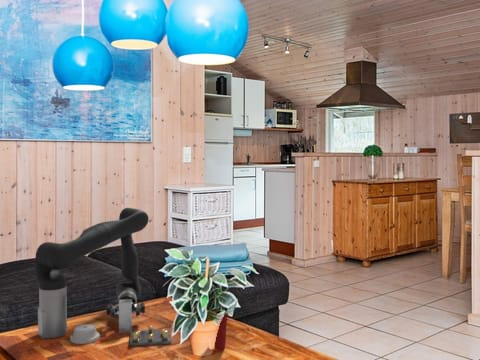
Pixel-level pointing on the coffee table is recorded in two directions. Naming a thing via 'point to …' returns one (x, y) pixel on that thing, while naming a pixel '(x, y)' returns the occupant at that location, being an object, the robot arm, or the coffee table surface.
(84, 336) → the mechanical component
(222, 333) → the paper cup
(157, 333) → the pin plate
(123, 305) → the block
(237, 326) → the coffee table surface
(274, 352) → the coffee table surface
